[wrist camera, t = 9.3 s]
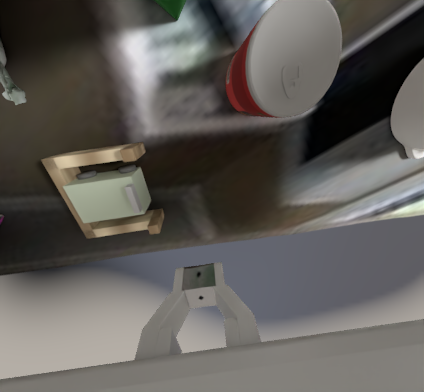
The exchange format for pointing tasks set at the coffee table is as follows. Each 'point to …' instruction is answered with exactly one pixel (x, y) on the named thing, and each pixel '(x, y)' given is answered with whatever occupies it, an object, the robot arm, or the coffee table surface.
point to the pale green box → (109, 194)
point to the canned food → (286, 60)
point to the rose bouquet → (9, 81)
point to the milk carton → (172, 6)
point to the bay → (68, 163)
